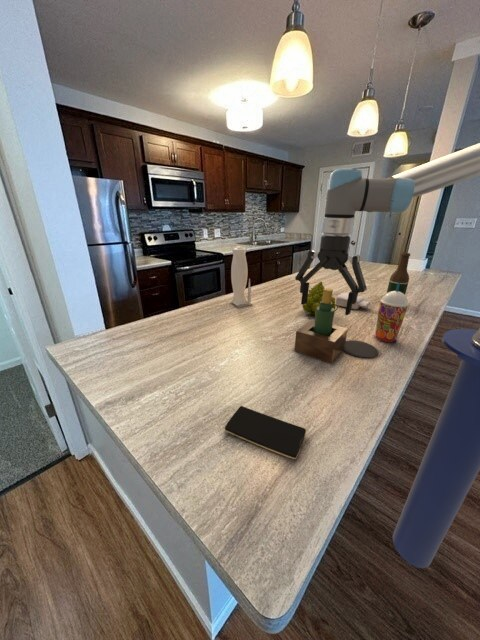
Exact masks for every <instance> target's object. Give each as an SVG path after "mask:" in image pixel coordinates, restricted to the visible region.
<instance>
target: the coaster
mask: <svg viewBox="0 0 480 640" xmlns="http://www.w3.org/2000/svg"><path fill="white" fill-rule="evenodd" d="M342 351H343V352H344V353H345V354H348V355H350V356H353V357H355V358H360V359H374V358H375V357H377V356H378V354H379V351H378V349H377V348H376V347H375V346H374V345H372V344H370V343H368V342H365V341H360V340H346V342H345V347H344V348H343V350H342Z"/></svg>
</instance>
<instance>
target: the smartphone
mask: <svg viewBox="0 0 480 640" xmlns="http://www.w3.org/2000/svg"><path fill="white" fill-rule="evenodd" d="M224 432H226V433H228V434H230V435H233V436H235V437H237V438H239V439H242V440H244V441H246V442H249V443H251V444H253V445H256V446H258V447H261V448H263V449H266V450H268V451H270V452H273V453H276V454H278V455H280V456H283V457H286V458H288V459H291V460H296V459H297V458H298V456H299V453H300V451H301V449H302V447H303V443H304V440H305V436H306V432H307V429H306V428H305V427H302V426H299V425H297V424H293V423H290V422H288V421H284V420H281V419H278V418H276V417H273V416H270V415H267V414H265V413H263V412H262V413H261V412H259V411H256V410H253V409H251V408H248V407H246V406H243V405H240V406H239V407H238V408H237V410H236V411H235V412H234V413H233V415H232V416H231V417H230V419H229V420H228V422H227V423H226V424H225V426H224Z"/></svg>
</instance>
